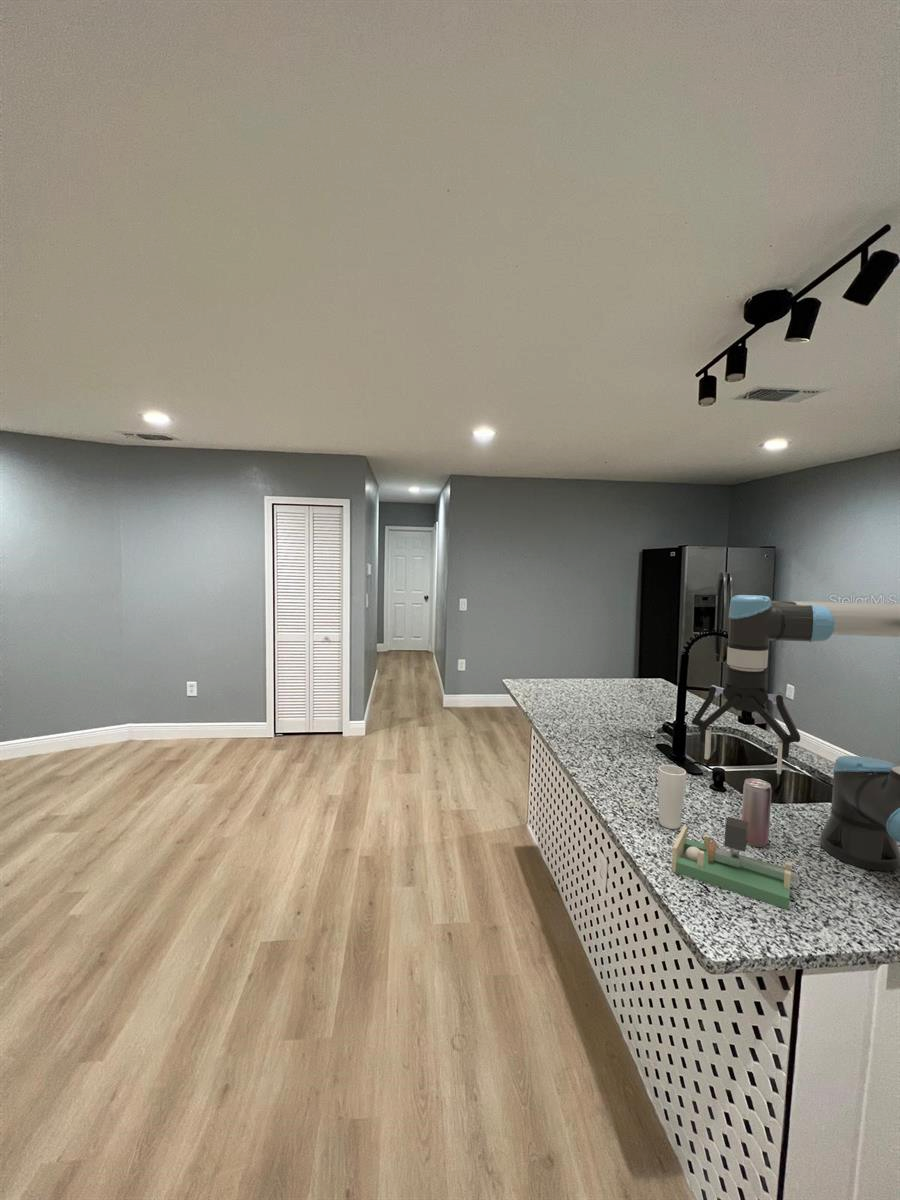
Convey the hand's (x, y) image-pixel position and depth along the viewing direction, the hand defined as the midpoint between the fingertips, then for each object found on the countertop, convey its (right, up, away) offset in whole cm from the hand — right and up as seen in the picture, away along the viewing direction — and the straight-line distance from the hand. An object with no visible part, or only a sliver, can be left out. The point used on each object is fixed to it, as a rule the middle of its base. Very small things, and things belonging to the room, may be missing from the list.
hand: (741, 764), depth 113 cm
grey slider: (+2, -23, 0) cm, 23 cm away
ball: (-7, -23, +7) cm, 25 cm away
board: (-1, -25, +2) cm, 26 cm away
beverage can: (+12, -25, +17) cm, 32 cm away
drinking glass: (-5, -24, +24) cm, 34 cm away
